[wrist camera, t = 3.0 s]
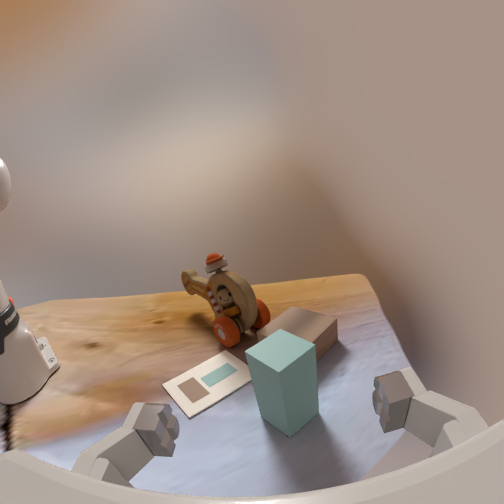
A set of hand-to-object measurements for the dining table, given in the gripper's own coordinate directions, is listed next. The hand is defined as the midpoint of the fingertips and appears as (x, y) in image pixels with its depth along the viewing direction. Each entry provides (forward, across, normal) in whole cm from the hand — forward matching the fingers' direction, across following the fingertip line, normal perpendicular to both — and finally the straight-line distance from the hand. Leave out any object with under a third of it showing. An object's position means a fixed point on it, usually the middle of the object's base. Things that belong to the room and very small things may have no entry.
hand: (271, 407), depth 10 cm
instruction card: (+21, +10, +16) cm, 29 cm away
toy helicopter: (+36, +10, +16) cm, 41 cm away
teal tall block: (+14, 0, +17) cm, 22 cm away
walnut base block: (+27, -2, +16) cm, 31 cm away
